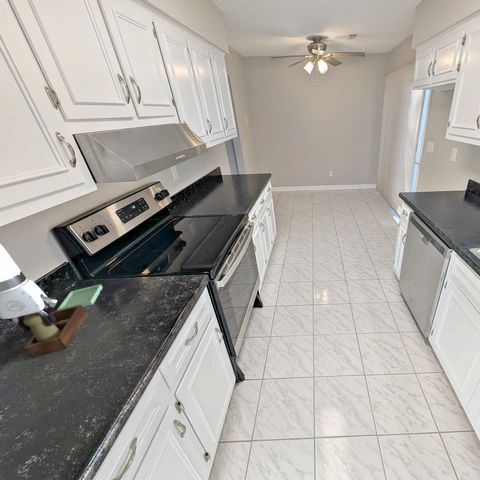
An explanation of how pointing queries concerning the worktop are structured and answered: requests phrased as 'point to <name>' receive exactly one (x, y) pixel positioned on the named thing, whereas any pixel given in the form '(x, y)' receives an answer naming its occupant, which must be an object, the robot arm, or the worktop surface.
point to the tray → (81, 297)
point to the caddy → (68, 325)
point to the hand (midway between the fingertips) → (40, 325)
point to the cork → (41, 327)
